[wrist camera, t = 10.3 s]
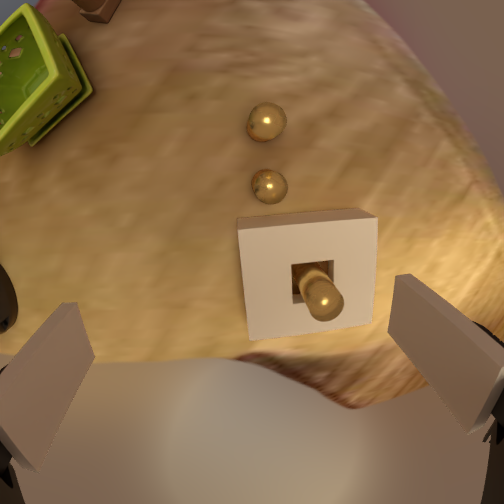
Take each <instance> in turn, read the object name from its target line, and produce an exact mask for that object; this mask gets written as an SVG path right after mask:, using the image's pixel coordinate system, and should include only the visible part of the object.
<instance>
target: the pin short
mask: <svg viewBox="0 0 504 504" xmlns="http://www.w3.org/2000/svg"><path fill="white" fill-rule="evenodd" d="M252 189H253V191H254V193H255V194H256V196H257V198H258V199H259V200H260V201H262V202H263V203H266V204H276V203H279V202H280V201H282V200H283V199H284V197H285V196H286V194H287V190H288V186H287V182H286V180H285V178H284V177H283V176H282V175H281V174H279V173H277V172H275V171H272V170H269V169H263V170H260V171H258V172H257V173H256V174H255V175H254V177H253V179H252Z"/></svg>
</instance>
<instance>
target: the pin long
mask: <svg viewBox="0 0 504 504" xmlns="http://www.w3.org/2000/svg"><path fill="white" fill-rule="evenodd" d="M291 273H292V275H293V278H294V280H295V282H296V284H297V286H298V288H299V290H300V292H301V295H302V297H303V299H304V301H305V303H306V305H307V307H308V309H309V312H310V314H311V316H312V317H313V318H314V319H316V320H318V321H321V322H327V321H331V320H333V319H335V318H336V317H337V316H339V314H340V313H341V312H342V310H343V307H344V299H343V296H342V295H341V293H340V292H339V291H338V289H337V288H336V287H335V285H334V284H333V282H332V281H331V280H330V278H329V277H328V276H327V274H326V273H325V272H324V270H323V269H322V268H321V266H320V265H319V264H318V262H308V263H299V264H291Z"/></svg>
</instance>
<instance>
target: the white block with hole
mask: <svg viewBox="0 0 504 504" xmlns="http://www.w3.org/2000/svg"><path fill="white" fill-rule="evenodd" d="M237 230H238V240H239V249H240V259H241V268H242V278H243V287H244V296H245V305H246V314H247V323H248V332H249V341H253V340H262V339H271V338H280V337H288V336H295V335H303V334H310V333H317V332H324V331H330V330H336V329H342V328H348V327H354V326H360V325H365V324H371V323H372V314H373V304H374V292H375V278H376V260H377V232H378V217H376V216H374V215H372V214H370V213H367V212H365V211H363V210H361V209H359V208H354V209H340V210H327V211H314V212H302V213H290V214H279V215H268V216H257V217H247V218H237ZM326 260H328V277H329V278H330V280H331V281H332V282H333V284H334V285H335V287H336V288H337V289H338V291H339V292H340V293H341V295H342V296H343V299H344V307H343V310H342V312H341V313H340V314H339V316H337V317H336V318H335V319H333V320H331V321H327V322H321V321H318V320H316V319H314V318H313V317H312V316H311V314H310V312H309V309H308V307H307V305H306V303H305V301H304V299H303V297H302V295H301V294H296V295H292V275H291V264H299V263H308V262H317V261H326Z"/></svg>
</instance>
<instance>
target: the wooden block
mask: <svg viewBox="0 0 504 504" xmlns="http://www.w3.org/2000/svg"><path fill="white" fill-rule="evenodd" d="M72 1H73V2H74V3H76V4H77V5H78V6H79V7H80V8H81V10H80V11H79V13H80V14H81V15H82V16H84V17H85V18H86V19H87V20H89V21H94V22H102V23H108V22H109V20H110V18H111V16H112V15H113V13H114V11H115V9H116V8H117V6H118V4H119V3H120V1H121V0H72Z"/></svg>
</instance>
